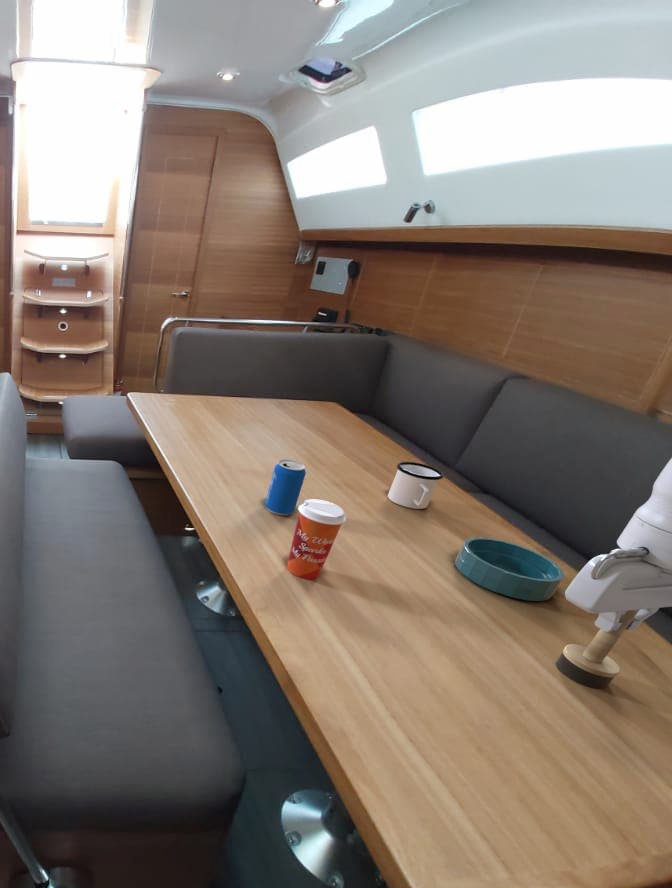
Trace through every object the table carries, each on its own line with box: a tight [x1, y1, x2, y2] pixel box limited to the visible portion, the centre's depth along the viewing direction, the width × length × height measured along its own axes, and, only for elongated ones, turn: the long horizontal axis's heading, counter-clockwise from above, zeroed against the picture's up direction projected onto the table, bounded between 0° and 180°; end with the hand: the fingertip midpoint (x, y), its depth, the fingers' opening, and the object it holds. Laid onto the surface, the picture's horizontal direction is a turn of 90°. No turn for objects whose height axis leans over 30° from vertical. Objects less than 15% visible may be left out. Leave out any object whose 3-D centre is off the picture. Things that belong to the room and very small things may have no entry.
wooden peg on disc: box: [555, 610, 639, 690], centre depth 72 cm, size 6×6×14 cm
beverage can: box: [264, 459, 307, 516], centre depth 116 cm, size 6×6×12 cm
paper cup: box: [286, 498, 347, 580], centre depth 93 cm, size 8×8×14 cm
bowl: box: [454, 536, 565, 602], centre depth 95 cm, size 14×14×5 cm
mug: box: [387, 461, 445, 510], centre depth 122 cm, size 12×10×9 cm
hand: (614, 627), depth 71 cm, fingers closed on wooden peg on disc
